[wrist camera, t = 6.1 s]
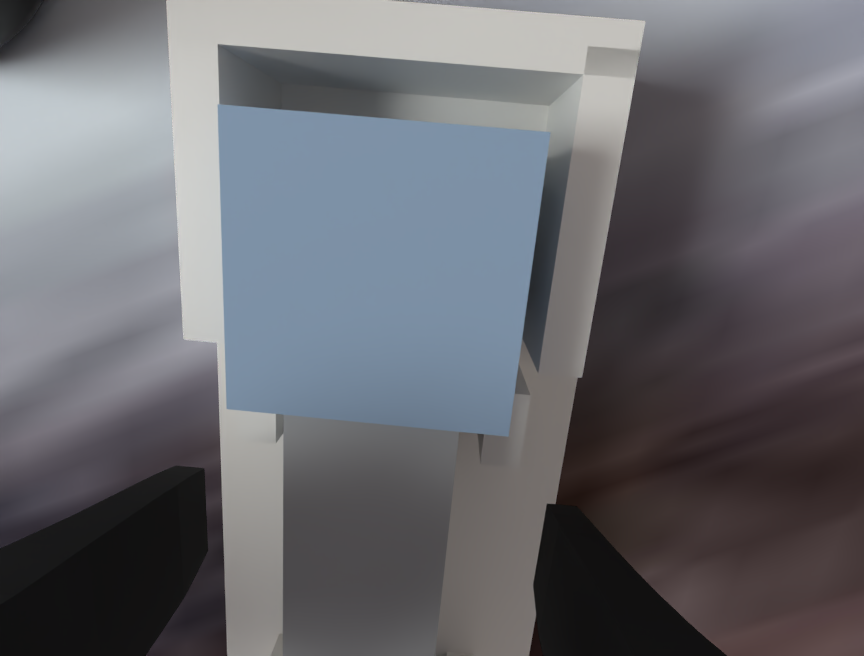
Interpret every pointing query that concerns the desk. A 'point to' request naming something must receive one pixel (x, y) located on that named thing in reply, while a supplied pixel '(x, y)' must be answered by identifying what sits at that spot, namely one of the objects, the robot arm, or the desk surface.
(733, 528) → the desk surface
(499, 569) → the slider rail
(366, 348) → the blue-capped grey bar
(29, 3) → the supplement bottle
